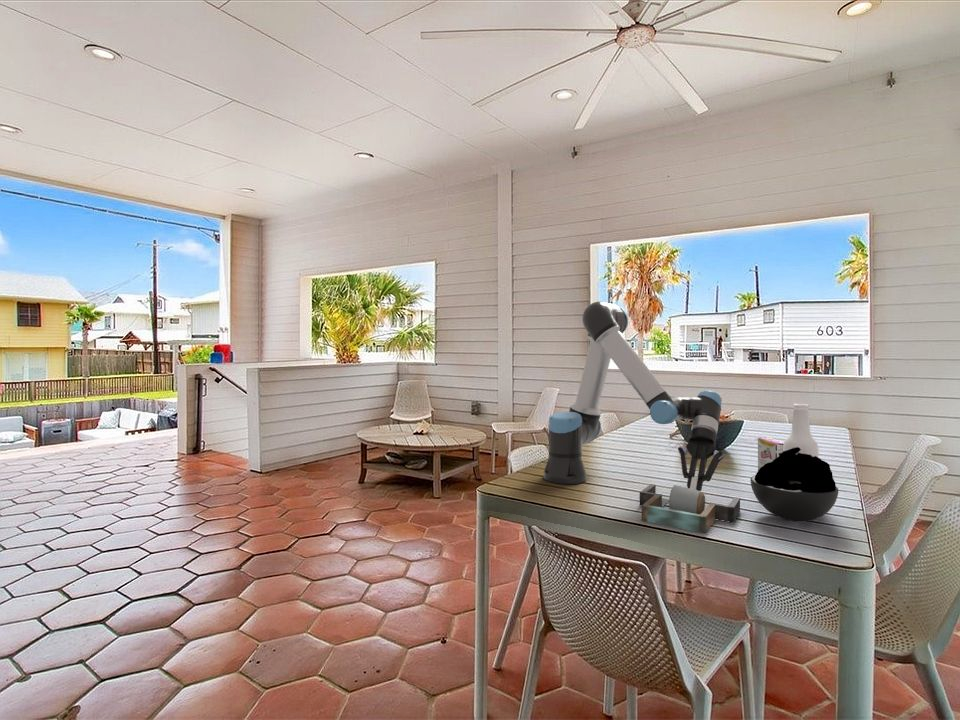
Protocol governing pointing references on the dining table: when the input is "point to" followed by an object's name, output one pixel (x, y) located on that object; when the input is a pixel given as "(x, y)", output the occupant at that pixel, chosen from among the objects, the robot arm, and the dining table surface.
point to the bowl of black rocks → (795, 486)
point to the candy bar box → (768, 450)
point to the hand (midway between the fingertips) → (692, 498)
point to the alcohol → (801, 432)
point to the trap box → (681, 519)
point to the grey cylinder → (686, 500)
